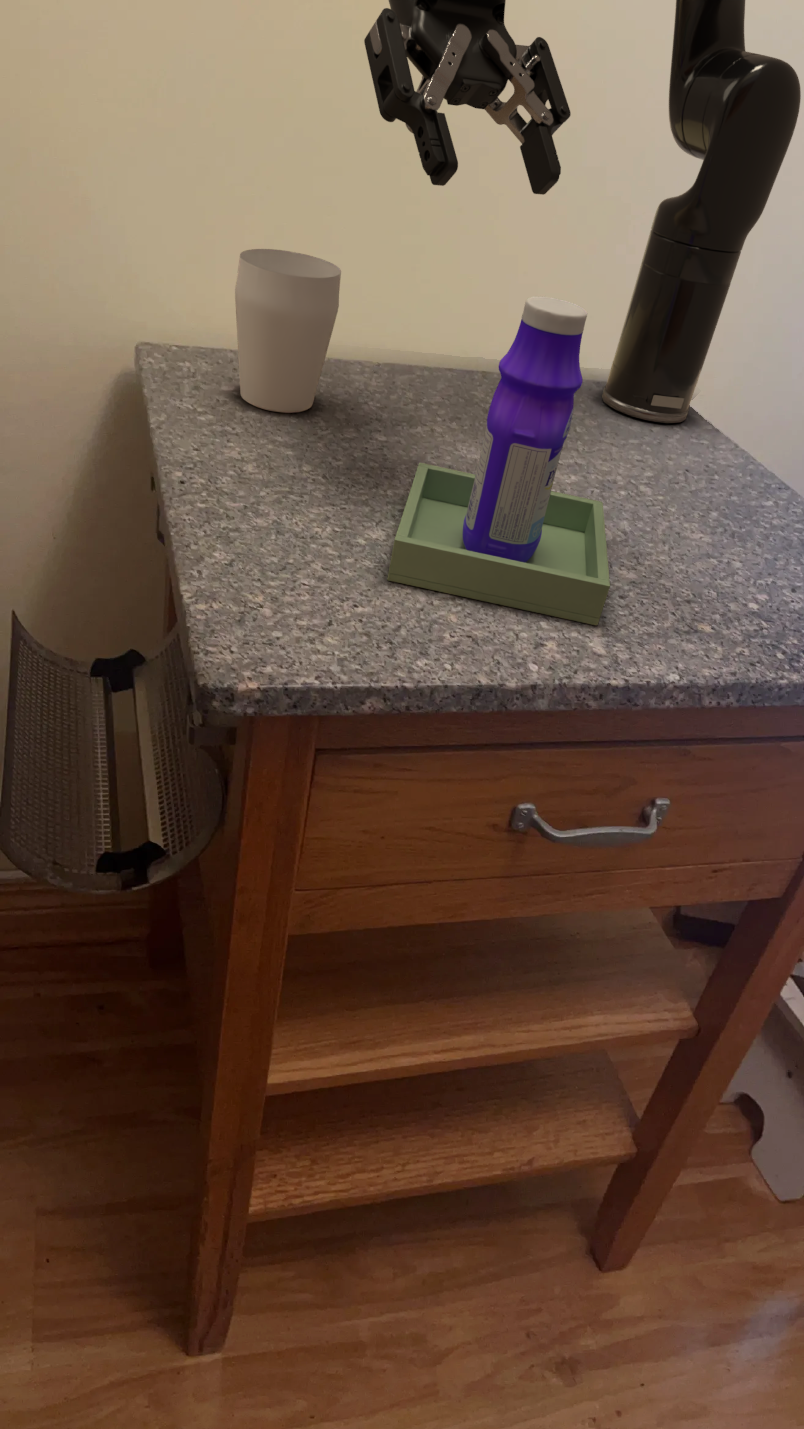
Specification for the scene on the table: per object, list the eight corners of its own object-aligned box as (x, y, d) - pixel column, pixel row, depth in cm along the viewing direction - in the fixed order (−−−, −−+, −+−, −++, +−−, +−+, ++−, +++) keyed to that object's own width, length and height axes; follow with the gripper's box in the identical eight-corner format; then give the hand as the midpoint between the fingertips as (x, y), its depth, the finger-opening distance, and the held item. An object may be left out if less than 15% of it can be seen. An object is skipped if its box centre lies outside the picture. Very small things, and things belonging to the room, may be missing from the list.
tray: (412, 498, 82) (419, 462, 80) (592, 537, 82) (603, 501, 80) (386, 580, 70) (394, 539, 68) (597, 626, 70) (610, 586, 68)
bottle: (530, 579, 73) (599, 327, 63) (452, 560, 73) (508, 306, 63) (539, 538, 79) (603, 302, 69) (467, 520, 79) (520, 283, 69)
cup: (344, 406, 97) (363, 272, 90) (285, 426, 90) (301, 283, 83) (268, 376, 100) (281, 245, 93) (206, 393, 93) (215, 253, 87)
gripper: (371, -116, 62) (440, 136, 62) (550, -70, 70) (614, 156, 69) (318, -19, 69) (381, 211, 68) (487, 14, 76) (545, 221, 75)
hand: (498, 183), depth 68 cm, fingers open, 8 cm apart
